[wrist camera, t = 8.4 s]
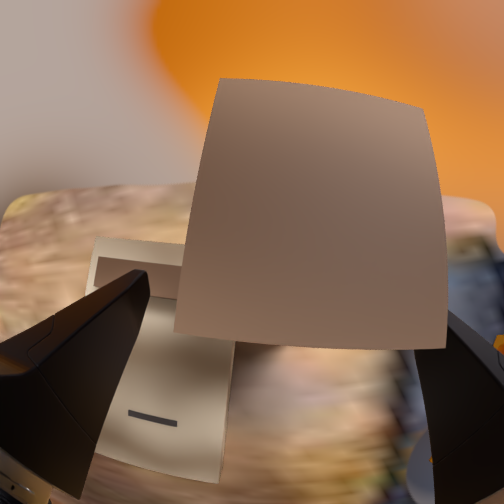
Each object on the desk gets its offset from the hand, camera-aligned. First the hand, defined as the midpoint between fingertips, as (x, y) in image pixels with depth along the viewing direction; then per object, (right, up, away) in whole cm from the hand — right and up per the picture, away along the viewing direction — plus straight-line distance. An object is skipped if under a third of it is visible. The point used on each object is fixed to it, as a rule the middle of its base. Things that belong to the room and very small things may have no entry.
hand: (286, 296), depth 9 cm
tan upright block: (-4, -1, +10) cm, 11 cm away
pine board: (-7, -6, +10) cm, 13 cm away
